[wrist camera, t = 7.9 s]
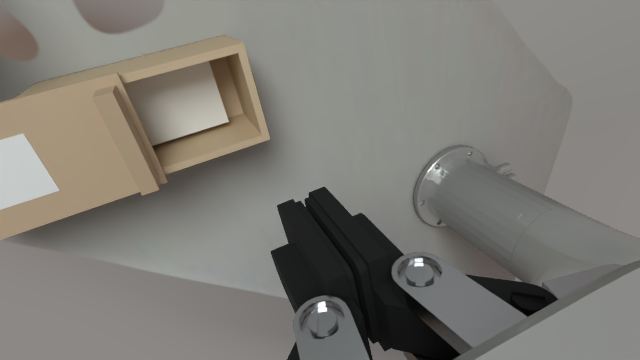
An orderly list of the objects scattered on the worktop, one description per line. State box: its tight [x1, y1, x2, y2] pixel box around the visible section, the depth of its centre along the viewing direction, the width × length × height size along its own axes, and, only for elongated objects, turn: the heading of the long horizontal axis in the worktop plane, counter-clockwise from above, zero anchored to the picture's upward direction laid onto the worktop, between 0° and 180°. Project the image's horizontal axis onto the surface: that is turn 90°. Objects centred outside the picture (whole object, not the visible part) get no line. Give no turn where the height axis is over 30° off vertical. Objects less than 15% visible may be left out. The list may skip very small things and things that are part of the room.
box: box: [15, 35, 270, 175], centre depth 31 cm, size 16×8×8 cm, turn 102°
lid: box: [0, 72, 168, 240], centre depth 24 cm, size 16×9×3 cm, turn 102°
